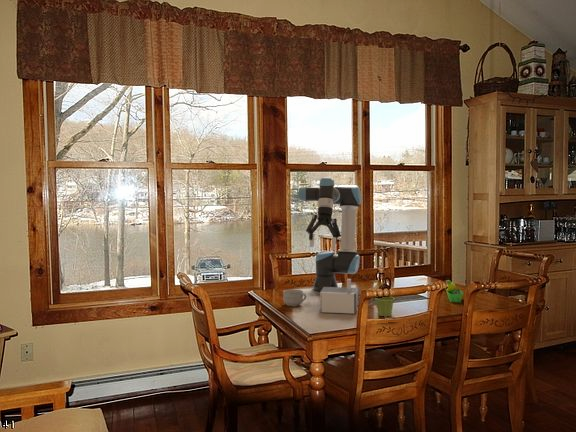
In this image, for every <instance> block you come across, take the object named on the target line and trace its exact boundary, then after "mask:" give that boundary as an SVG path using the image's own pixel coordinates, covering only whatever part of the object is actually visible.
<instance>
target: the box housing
mask: <svg viewBox="0 0 576 432" xmlns="http://www.w3.org/2000/svg"><path fill="white" fill-rule="evenodd" d="M320 292H335V293H347V287H339V286H338V287H323V289H322V290H321V291H320ZM358 292H359V289H358V287H351V293H354V314H353V313H350V315H351V314H353V315H356V314H357V312H358V308H357V305H358V303H359V301H358V300H359V294H358ZM358 306H359V305H358ZM326 313H327V314H328V313H329V312H326Z"/></svg>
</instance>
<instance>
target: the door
mask: <svg viewBox="0 0 576 432" xmlns="http://www.w3.org/2000/svg"><path fill="white" fill-rule="evenodd" d="M346 288H347V293H335V292H321V291H319V312H320V313H327V312H329V313H330V314H331V313H333V314H334V313H335V314H351V313H353V315H355V314H354V293H351V288H352V279H351V278H347V279H346Z"/></svg>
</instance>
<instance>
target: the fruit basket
mask: <svg viewBox="0 0 576 432" xmlns="http://www.w3.org/2000/svg"><path fill="white" fill-rule="evenodd" d="M445 282H447V283H448V288H447V289H446V288H445V290H446V291H445V292H446V293H447V298H448V299H449V302H450V303H461V302H462V298H463V296H464V293H463V291H462V290H461V289H460V288H459V289H458V288H457V287H456V284H455V283H454V282H452V281H451V280H449V279H447V280H445Z"/></svg>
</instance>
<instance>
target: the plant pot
mask: <svg viewBox="0 0 576 432" xmlns="http://www.w3.org/2000/svg"><path fill="white" fill-rule="evenodd" d="M374 299H375V302H376V305H377V311H378V312H377V313H378V316H379V317H383V316H384V317H383V318H388V317H387V316H389V317H392V314H393V305H394V303H395V297H393V296H390V297H382V298H374Z"/></svg>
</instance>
